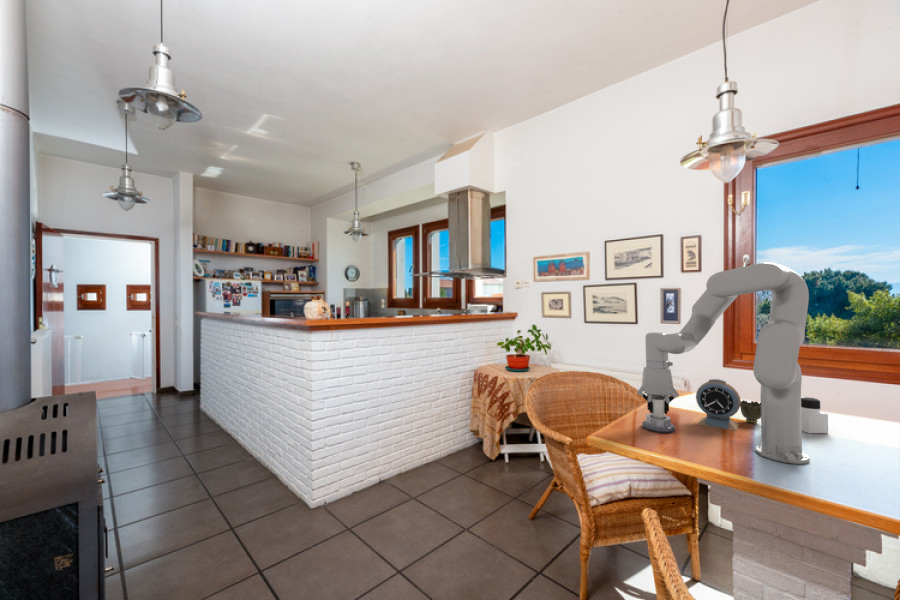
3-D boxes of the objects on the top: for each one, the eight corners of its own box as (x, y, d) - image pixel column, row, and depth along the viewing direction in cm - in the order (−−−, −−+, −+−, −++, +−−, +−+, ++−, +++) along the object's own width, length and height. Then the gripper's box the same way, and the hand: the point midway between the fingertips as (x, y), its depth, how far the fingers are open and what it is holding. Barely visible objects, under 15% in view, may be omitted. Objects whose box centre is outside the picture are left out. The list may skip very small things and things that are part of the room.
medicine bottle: (828, 433, 136) (828, 400, 136) (808, 433, 136) (807, 400, 136) (810, 427, 143) (809, 395, 143) (791, 427, 143) (790, 395, 144)
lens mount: (678, 434, 138) (677, 422, 138) (644, 431, 141) (644, 419, 141) (671, 425, 148) (671, 413, 148) (640, 422, 152) (640, 411, 152)
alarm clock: (694, 423, 150) (693, 379, 150) (699, 418, 157) (698, 375, 157) (739, 431, 140) (738, 383, 140) (742, 425, 147) (741, 379, 147)
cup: (762, 421, 151) (761, 401, 151) (765, 426, 145) (765, 405, 145) (738, 418, 155) (738, 399, 155) (741, 423, 149) (740, 403, 149)
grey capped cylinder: (666, 424, 142) (665, 397, 142) (653, 423, 143) (652, 396, 143) (663, 420, 146) (663, 395, 146) (651, 419, 147) (650, 394, 148)
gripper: (679, 364, 146) (680, 411, 145) (631, 362, 151) (632, 408, 151) (684, 367, 139) (686, 417, 138) (634, 365, 144) (635, 413, 144)
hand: (658, 412), depth 145 cm, fingers closed on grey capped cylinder, 4 cm apart
